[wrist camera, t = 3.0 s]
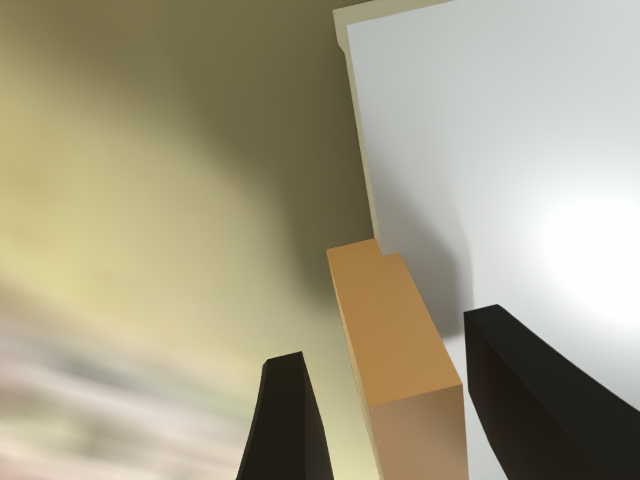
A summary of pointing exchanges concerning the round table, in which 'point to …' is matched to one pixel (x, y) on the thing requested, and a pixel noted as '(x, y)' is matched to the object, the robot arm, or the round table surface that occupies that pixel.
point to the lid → (487, 207)
